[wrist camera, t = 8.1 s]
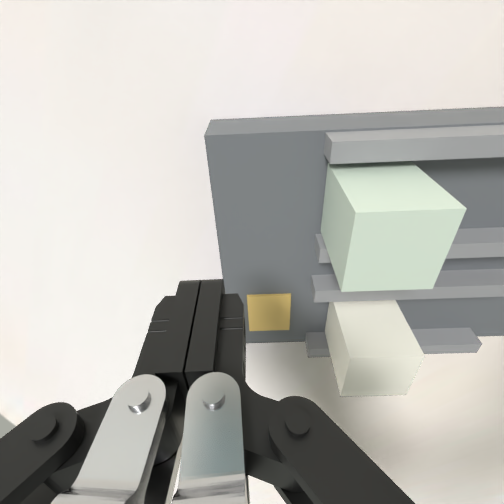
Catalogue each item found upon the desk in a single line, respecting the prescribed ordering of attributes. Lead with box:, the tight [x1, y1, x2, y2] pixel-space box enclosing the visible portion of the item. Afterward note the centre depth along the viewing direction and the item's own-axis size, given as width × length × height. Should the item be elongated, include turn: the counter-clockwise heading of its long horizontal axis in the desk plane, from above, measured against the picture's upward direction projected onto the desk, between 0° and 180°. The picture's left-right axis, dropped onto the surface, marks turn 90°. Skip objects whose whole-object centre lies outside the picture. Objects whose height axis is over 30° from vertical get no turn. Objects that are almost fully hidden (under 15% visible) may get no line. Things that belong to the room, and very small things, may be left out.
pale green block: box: [321, 161, 467, 292], centre depth 14 cm, size 4×4×5 cm
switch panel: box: [204, 107, 504, 357], centre depth 20 cm, size 16×24×4 cm, turn 92°
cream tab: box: [325, 300, 425, 397], centre depth 20 cm, size 4×4×5 cm
